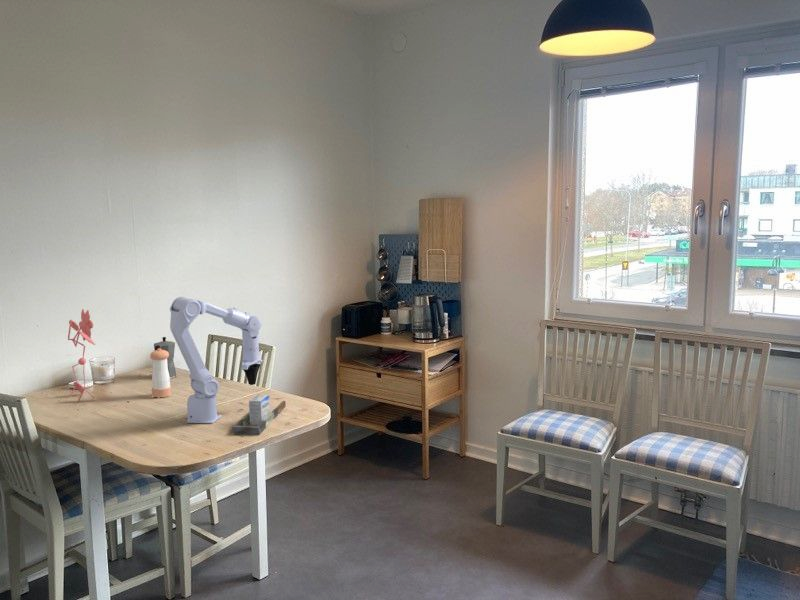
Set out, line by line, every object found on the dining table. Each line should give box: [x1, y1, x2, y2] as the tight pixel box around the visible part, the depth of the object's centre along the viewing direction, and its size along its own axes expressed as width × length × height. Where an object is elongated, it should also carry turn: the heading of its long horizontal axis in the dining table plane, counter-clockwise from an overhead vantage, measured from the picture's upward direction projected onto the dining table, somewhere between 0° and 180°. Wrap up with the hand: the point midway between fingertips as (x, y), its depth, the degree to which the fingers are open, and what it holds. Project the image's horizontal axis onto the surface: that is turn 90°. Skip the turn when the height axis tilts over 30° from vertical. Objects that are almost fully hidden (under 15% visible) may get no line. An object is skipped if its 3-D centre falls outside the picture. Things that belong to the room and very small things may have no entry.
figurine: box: [67, 309, 96, 402], centre depth 254 cm, size 15×26×35 cm, turn 43°
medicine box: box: [248, 394, 271, 426], centre depth 224 cm, size 8×4×9 cm, turn 170°
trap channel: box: [232, 400, 287, 436], centre depth 226 cm, size 9×30×2 cm, turn 173°
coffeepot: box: [153, 336, 177, 377], centre depth 284 cm, size 15×9×18 cm, turn 175°
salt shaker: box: [149, 348, 172, 398], centre depth 256 cm, size 7×7×19 cm
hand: (252, 384), depth 238 cm, fingers closed
